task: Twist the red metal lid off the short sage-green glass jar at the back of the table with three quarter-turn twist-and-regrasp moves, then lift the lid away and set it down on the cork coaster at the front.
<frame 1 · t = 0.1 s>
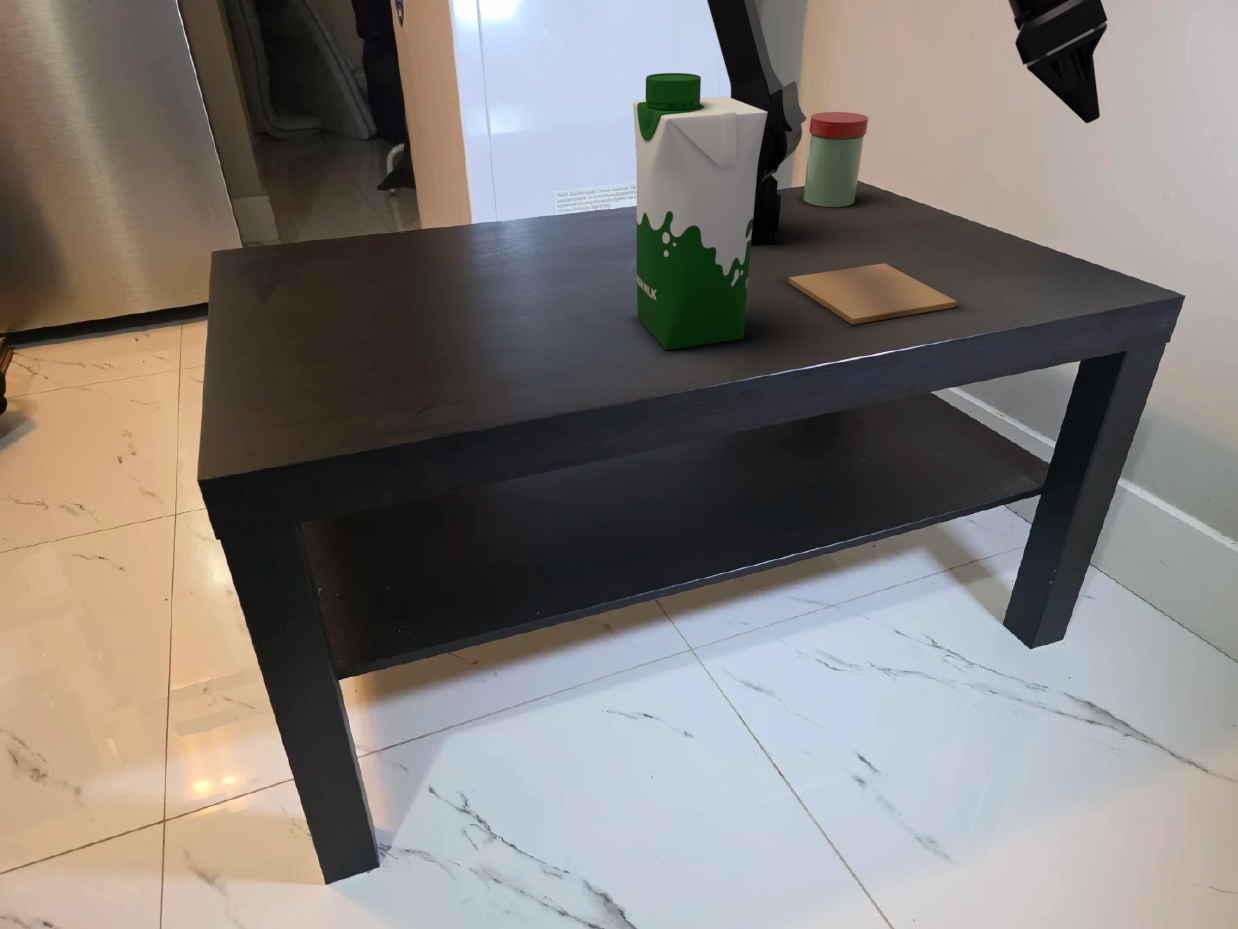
hand: (1090, 111, 73), 15 cm above the table, tool tilted 35°, fingers open, 9 cm apart
coaster: (869, 294, 76), on the table
milk carton: (690, 331, 70), on the table
jar: (828, 200, 104), on the table
lid: (839, 119, 98), point 10 cm above the table, screwed on, not yet turned
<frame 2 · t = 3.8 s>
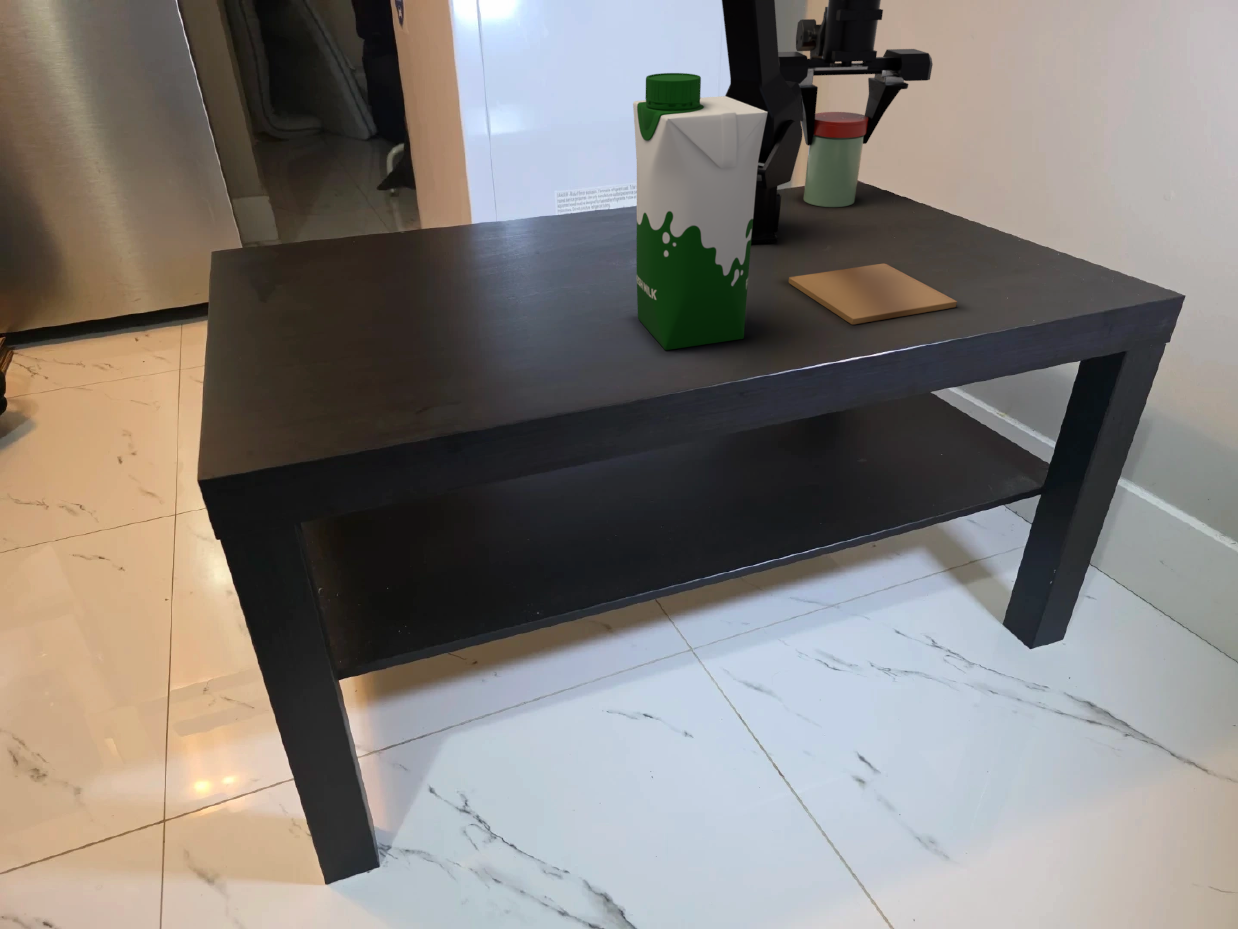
hand: (836, 143, 100), 7 cm above the table, tool pointing down, fingers closed on lid, 6 cm apart
lid: (838, 119, 98), point 10 cm above the table, screwed on, not yet turned, touching gripper
everything else where it was.
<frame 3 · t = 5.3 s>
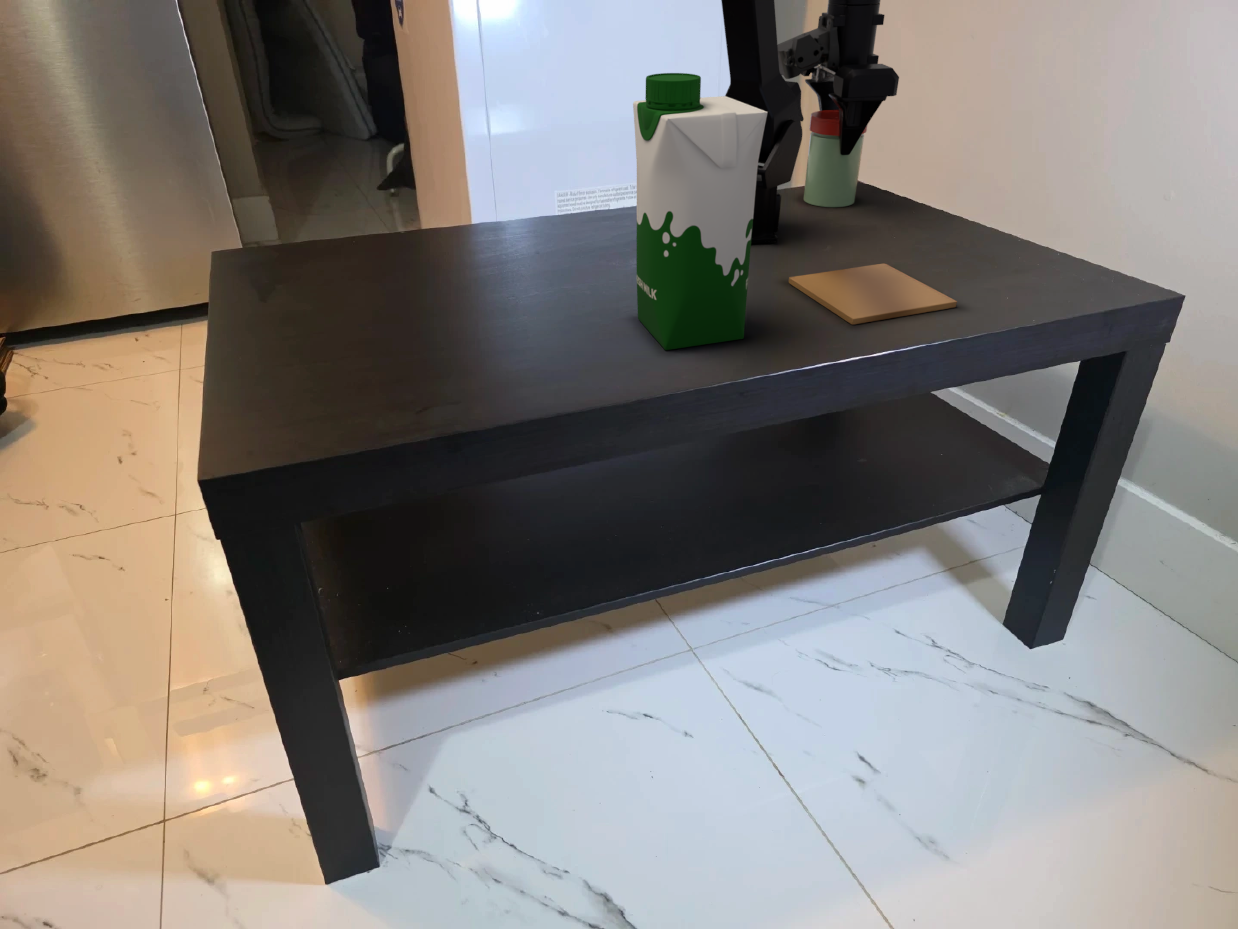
hand: (836, 148, 100), 6 cm above the table, tool pointing down, fingers closed on lid, 6 cm apart
jar: (828, 200, 104), on the table, touching gripper
lid: (839, 117, 98), point 10 cm above the table, turned 89° so far, risen 0.2 cm, still on its thread, touching gripper
everything else where it was.
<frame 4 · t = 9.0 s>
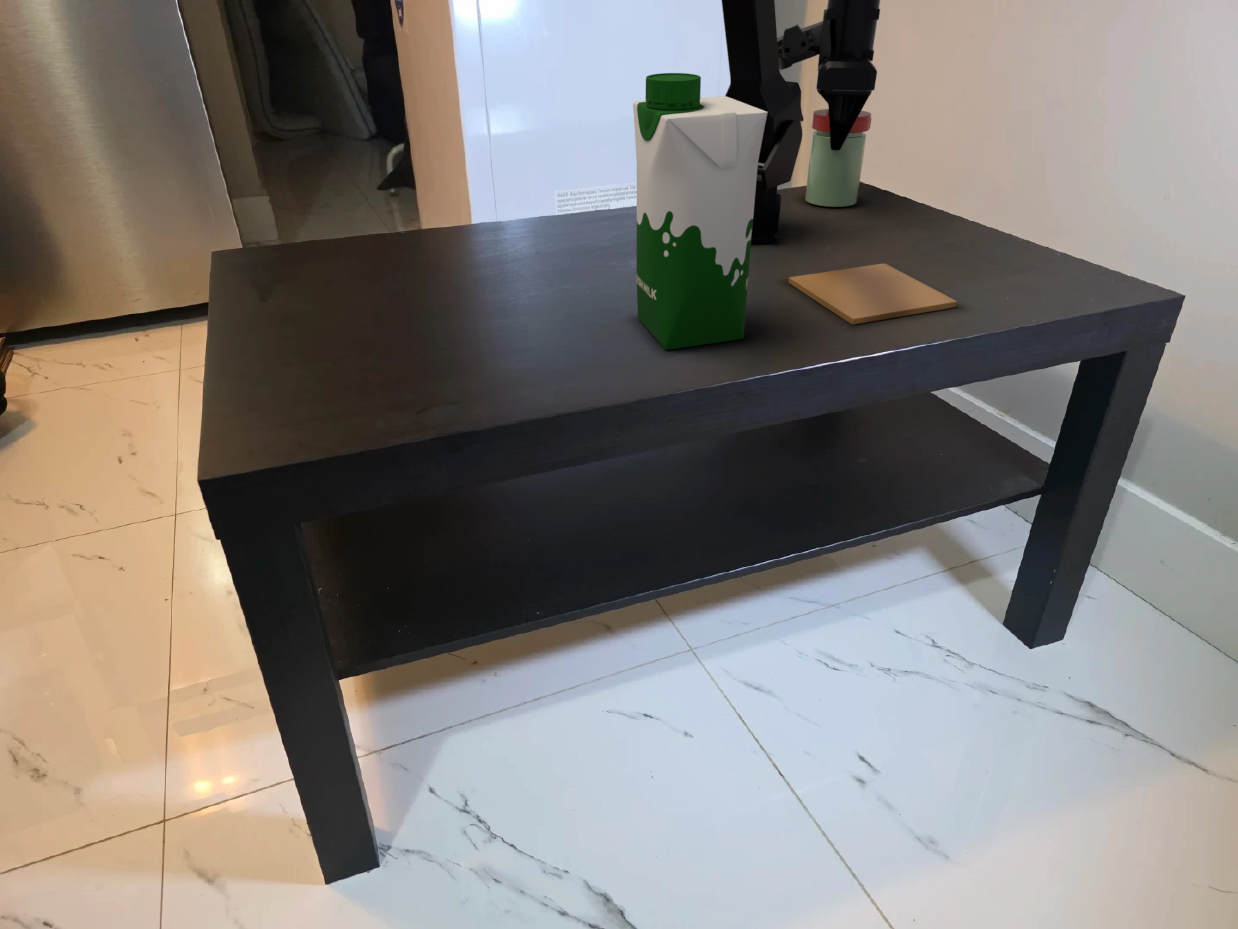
hand: (835, 143, 100), 7 cm above the table, tool pointing down, fingers closed on lid, 6 cm apart
jar: (830, 200, 103), on the table
lid: (841, 115, 98), point 10 cm above the table, turned 145° so far, risen 0.4 cm, still on its thread, touching gripper
everything else where it was.
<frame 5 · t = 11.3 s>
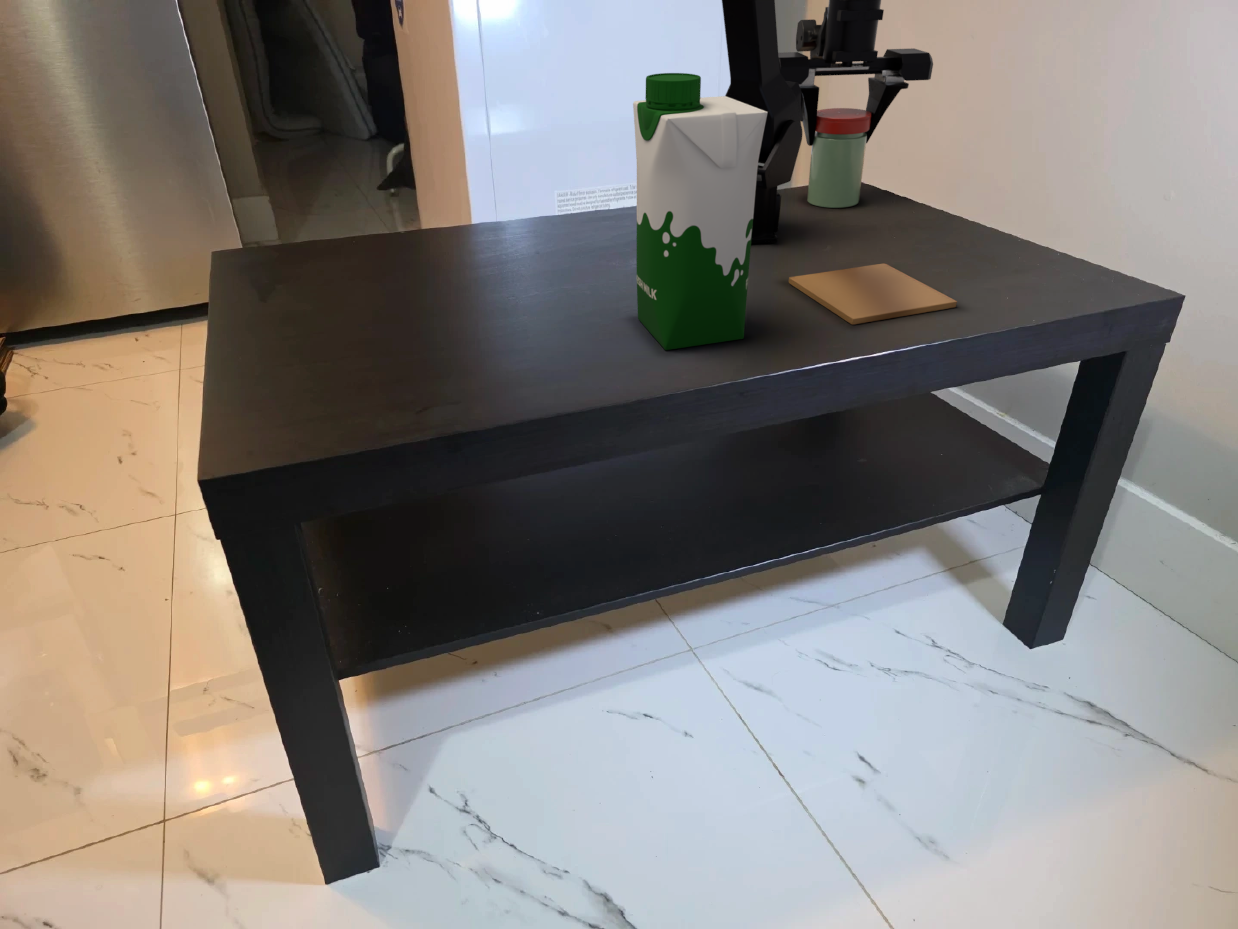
hand: (837, 143, 100), 7 cm above the table, tool pointing down, fingers closed on lid, 6 cm apart
jar: (832, 200, 103), on the table, touching gripper
lid: (841, 116, 98), point 10 cm above the table, turned 154° so far, risen 0.4 cm, still on its thread, touching gripper
everything else where it was.
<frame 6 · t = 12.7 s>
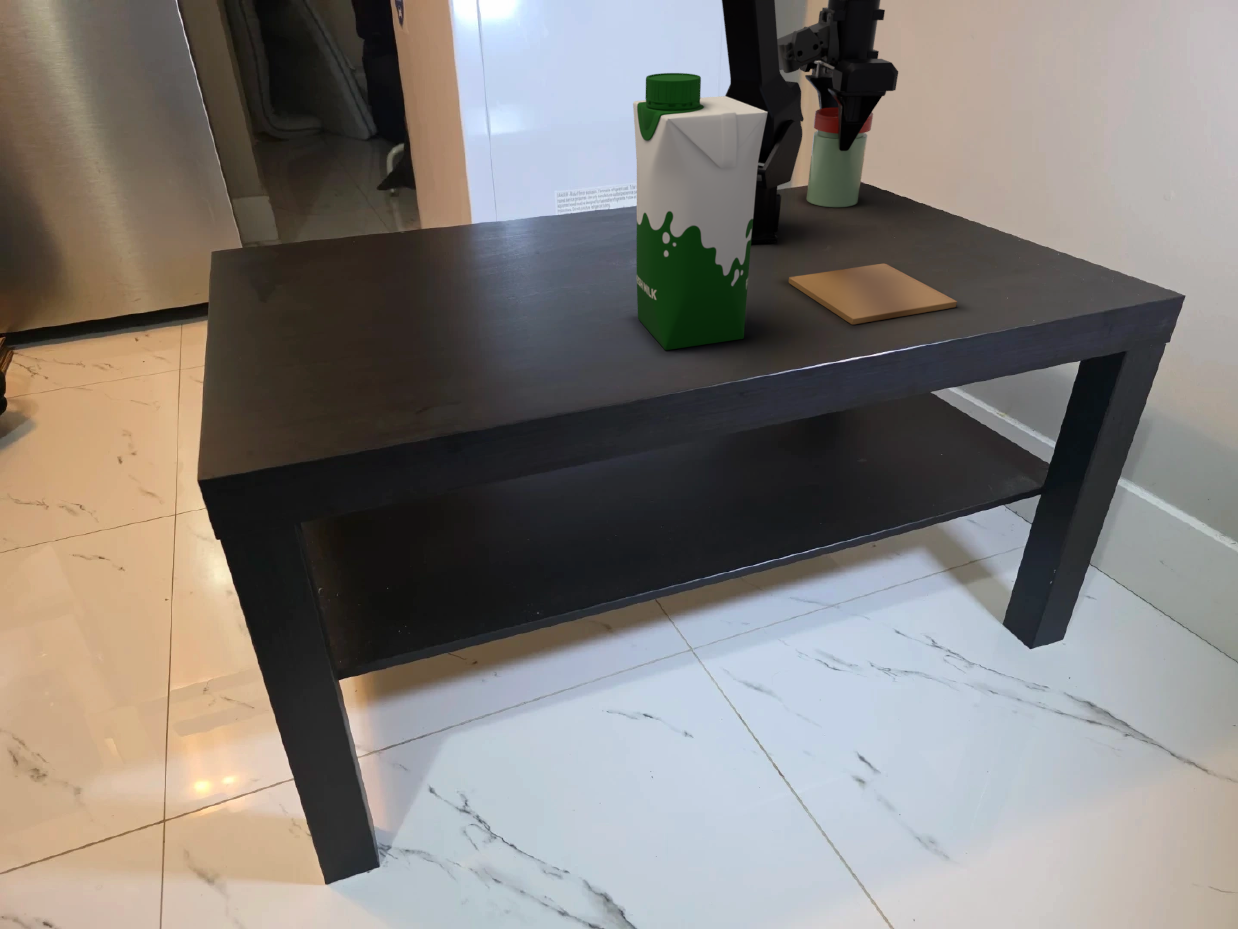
hand: (835, 144, 100), 7 cm above the table, tool pointing down, fingers closed on lid, 6 cm apart
lid: (843, 115, 98), point 10 cm above the table, off its thread, touching gripper
everything else where it was.
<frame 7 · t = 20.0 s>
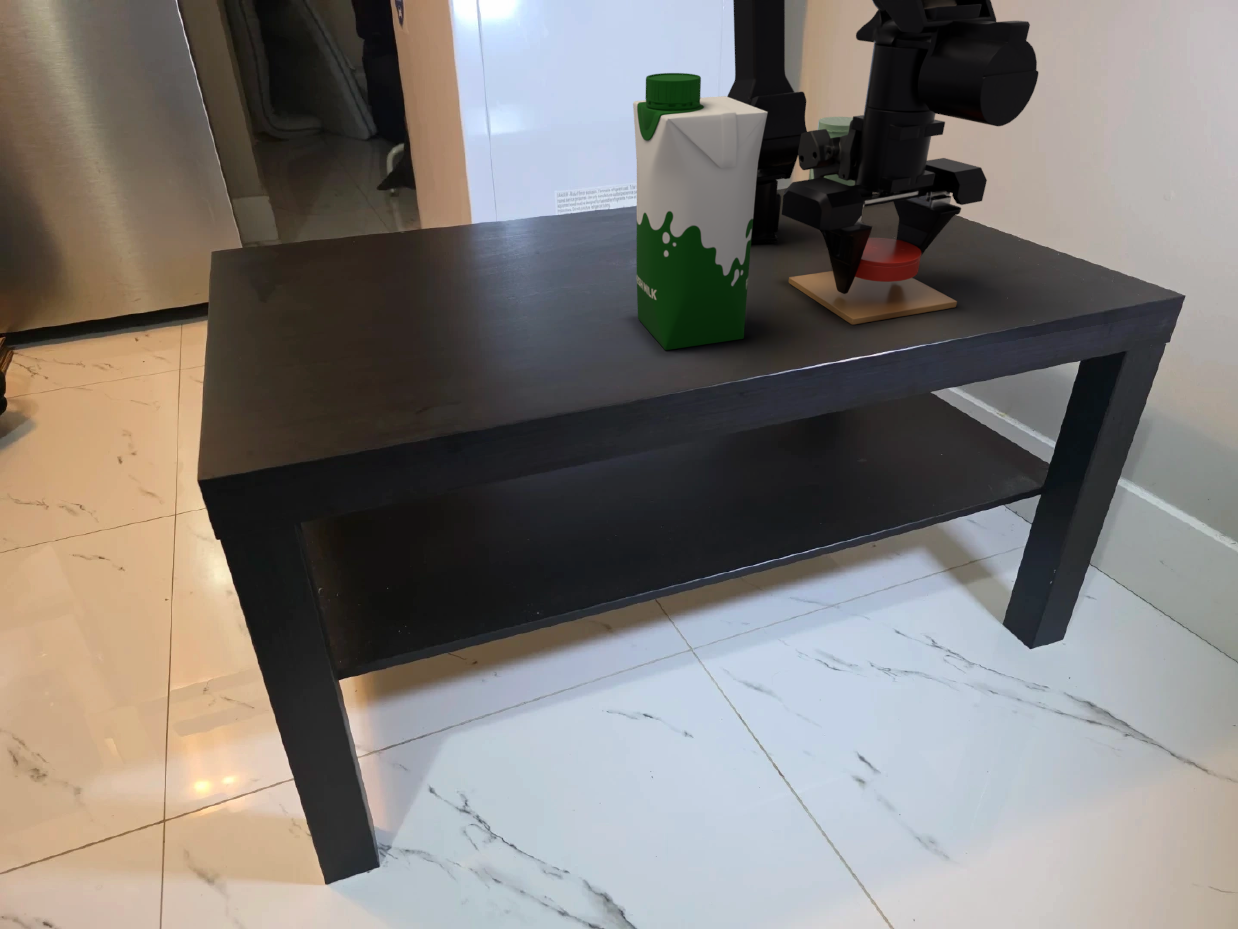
hand: (870, 285, 76), 1 cm above the table, tool pointing down, fingers closed on lid, 6 cm apart
jar: (831, 200, 104), on the table
lid: (881, 253, 74), point 4 cm above the table, off its thread, touching gripper
everything else where it was.
when the fingers open (2 cm above the table, at t = 29.6 s): lid drops 3 cm, resting on coaster.
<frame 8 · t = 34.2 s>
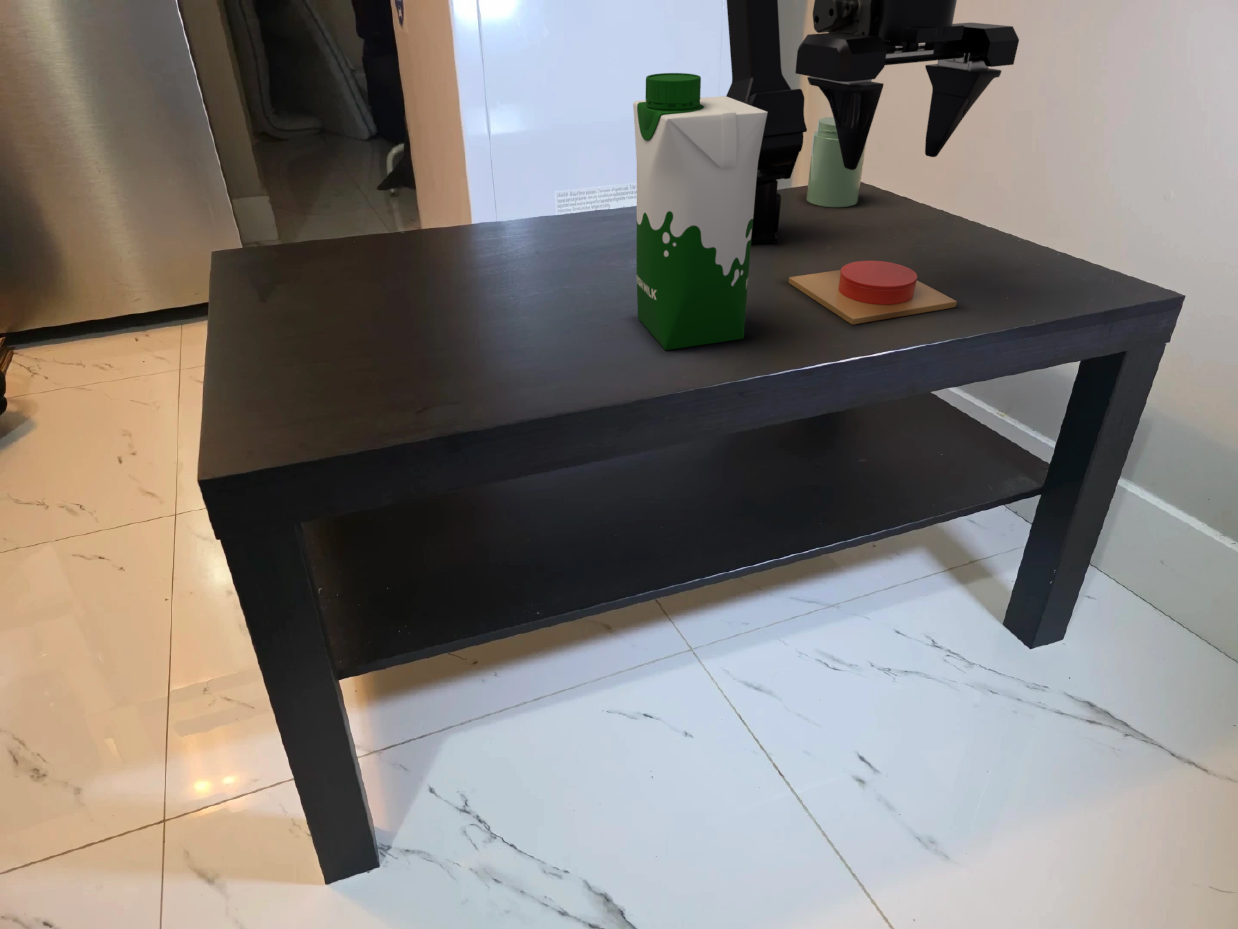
hand: (891, 162, 70), 12 cm above the table, tool pointing down, fingers open, 9 cm apart
lid: (878, 276, 75), point 2 cm above the table, off its thread, touching coaster
everything else where it was.
at the end: lid came off its thread; lid inside the target area on the coaster (0.7 cm from its centre), point 2.0 cm above the coaster's base; the gripper is holding nothing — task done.
